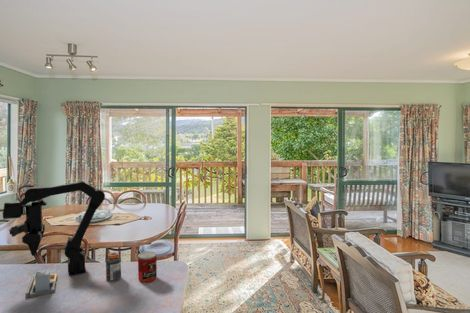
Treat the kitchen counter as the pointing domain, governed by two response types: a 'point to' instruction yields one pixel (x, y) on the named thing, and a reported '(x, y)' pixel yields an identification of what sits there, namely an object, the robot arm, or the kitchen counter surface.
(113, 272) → the pill bottle
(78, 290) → the kitchen counter surface
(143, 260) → the canned food
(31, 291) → the cubby shelf with drawer
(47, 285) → the blue-grey box
